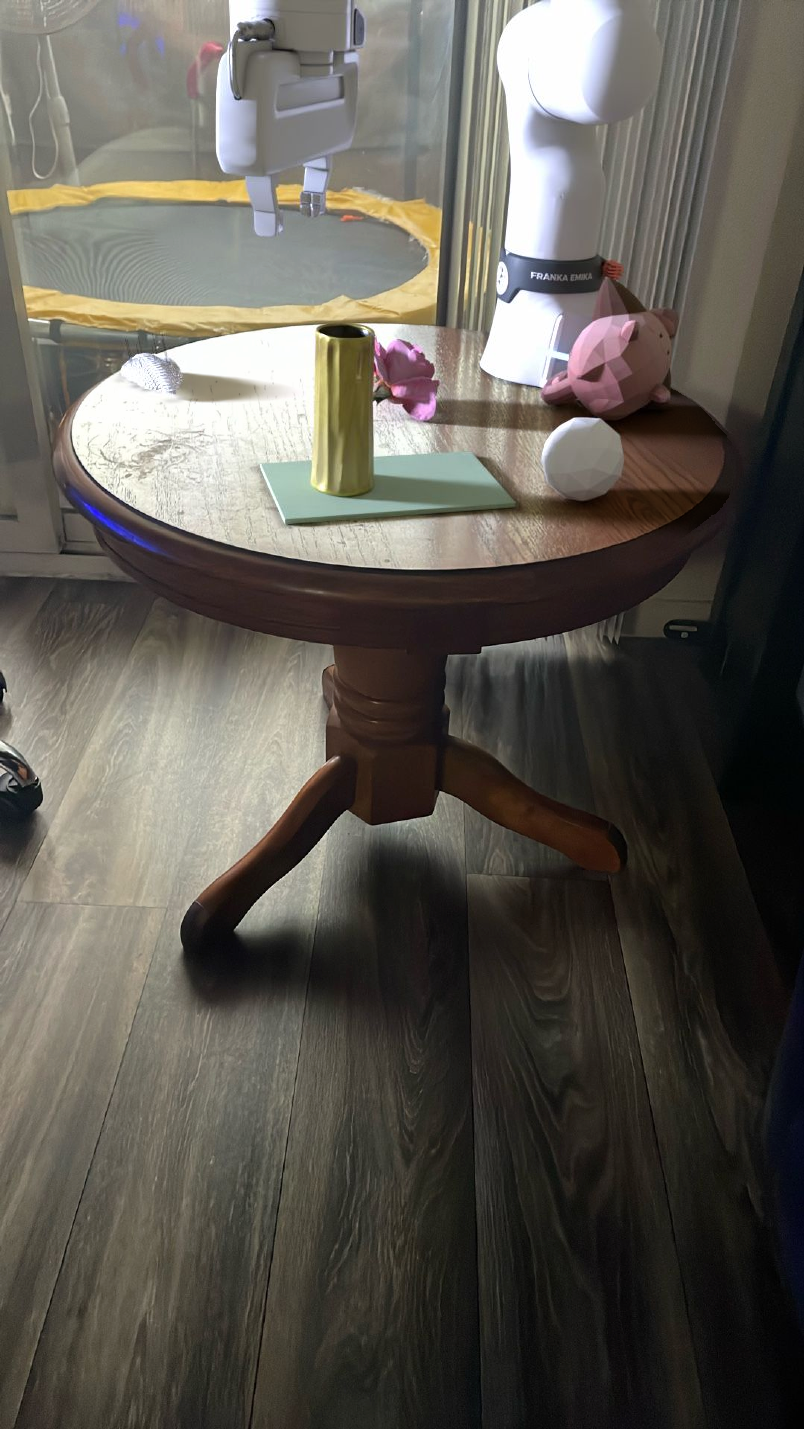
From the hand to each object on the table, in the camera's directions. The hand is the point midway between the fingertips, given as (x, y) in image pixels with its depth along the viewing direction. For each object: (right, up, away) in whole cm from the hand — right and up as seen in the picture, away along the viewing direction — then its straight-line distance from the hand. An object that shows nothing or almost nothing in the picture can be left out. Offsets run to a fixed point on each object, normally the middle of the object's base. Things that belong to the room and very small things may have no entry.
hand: (291, 225), depth 83 cm
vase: (+3, -18, +15) cm, 23 cm away
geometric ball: (+26, -19, +17) cm, 36 cm away
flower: (+8, -5, +34) cm, 35 cm away
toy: (+28, -4, +32) cm, 43 cm away
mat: (+7, -18, +16) cm, 25 cm away
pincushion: (-20, -1, +37) cm, 42 cm away
